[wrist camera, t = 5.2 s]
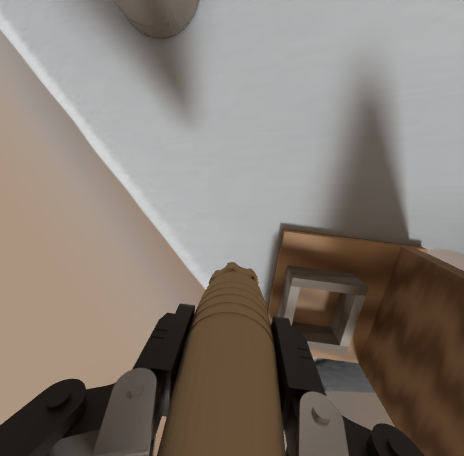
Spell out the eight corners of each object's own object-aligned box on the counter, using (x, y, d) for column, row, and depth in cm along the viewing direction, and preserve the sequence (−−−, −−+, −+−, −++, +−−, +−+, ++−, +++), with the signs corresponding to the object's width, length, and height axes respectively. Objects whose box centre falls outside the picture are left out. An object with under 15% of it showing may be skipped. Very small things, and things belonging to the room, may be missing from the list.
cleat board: (283, 229, 30) (363, 363, 10) (422, 247, 29) (812, 426, 9) (261, 344, 35) (282, 581, 15) (377, 360, 35) (557, 626, 15)
